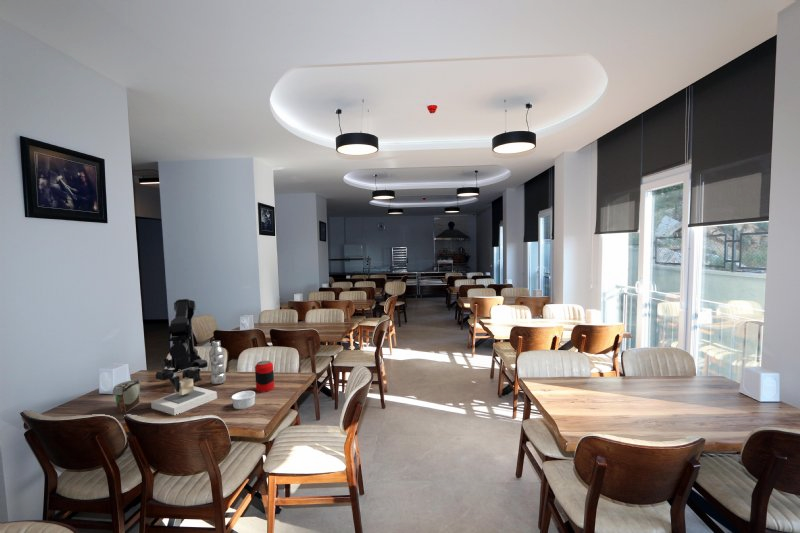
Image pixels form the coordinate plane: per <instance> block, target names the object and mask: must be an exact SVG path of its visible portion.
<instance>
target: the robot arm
mask: <svg viewBox="0 0 800 533" xmlns="http://www.w3.org/2000/svg"><path fill="white" fill-rule="evenodd" d="M196 305H197V304H196V301H195V300H190V299H189V298H183V299H182V298H181V299H177V300H176V301H174V302H173V311H174V312H175V315H174V318H173V319H172V320H171V321H170V324H169V325H168V330H167V342H168V343H169V342H172V345H171V347H170V348H169V352H168V353H169V355H170V357H171V359H169V358H164V359H161V368H164V369H161V370H158V371H156V373H155V379H156V380H161V381H166V380H169V381H170V382H171V384H172V387H174V388H175V389H174V391H175V390H176V392H179V381H180V379H181V378H180V376H179V375H178V374H179V373H182V378H185V377H187V378H191V379H193V384H194V383H195V382H199V381H202V380H203V378H202V377H201V373H200V372H201V370H202V369H205V368H208V367H209V364H208V361H207V360H205V359H202V358H201V356H200V355H199V351H198V350H197V348H196V347H195V345H194V334H193V332H194V331H193V322H192V319H193V317H194V315H195V311H196V308H197V307H196Z"/></svg>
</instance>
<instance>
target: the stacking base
mask: <svg viewBox="0 0 800 533" xmlns="http://www.w3.org/2000/svg"><path fill="white" fill-rule="evenodd" d="M193 386H194V385H193ZM216 399H218V391H215V390H211V389H207V388H202V387H198V386H194V391H192V392H189V393H186V394H184V395H180V394H176V393H175V392H173V393H171V394H168V395H164V396H163V397H160V398H157V399H156V398H155V399H154V400H151V401H150V406H151V409H152V410H156V411H159V412H162V413H167V414H168V415H172V416H177V415H179V413H180V414H182V413H185V412H187V411H190V410H191V409H195V408H196V407H199V406H202V405H204V404H206V403H209V402H211V401H214V400H216ZM176 414H177V415H176Z"/></svg>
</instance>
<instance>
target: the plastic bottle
mask: <svg viewBox="0 0 800 533" xmlns="http://www.w3.org/2000/svg"><path fill="white" fill-rule="evenodd" d="M221 345H222V344H221V340H213V341H211V349H210V350H209V352H208V356H209V360H210V367H211V368H210V370H211V371H210V383H211V384H212V385H220V384H223V383H225V382H226V378H227V376H226V375H227V374H226V372H225V364H224V363H225V361H224V360H225V359H224V358H225V349H224V348H223V347H222V346H221Z"/></svg>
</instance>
